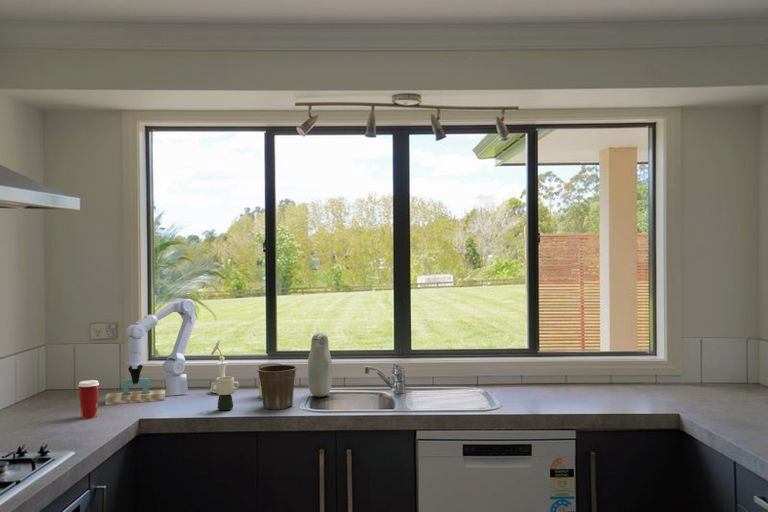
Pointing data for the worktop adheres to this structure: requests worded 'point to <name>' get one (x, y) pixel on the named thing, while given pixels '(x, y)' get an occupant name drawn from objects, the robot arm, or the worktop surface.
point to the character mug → (225, 391)
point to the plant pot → (277, 385)
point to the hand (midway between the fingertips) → (135, 382)
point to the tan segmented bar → (135, 397)
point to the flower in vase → (220, 364)
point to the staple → (128, 382)
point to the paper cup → (88, 398)
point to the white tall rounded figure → (319, 366)
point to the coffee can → (259, 379)
